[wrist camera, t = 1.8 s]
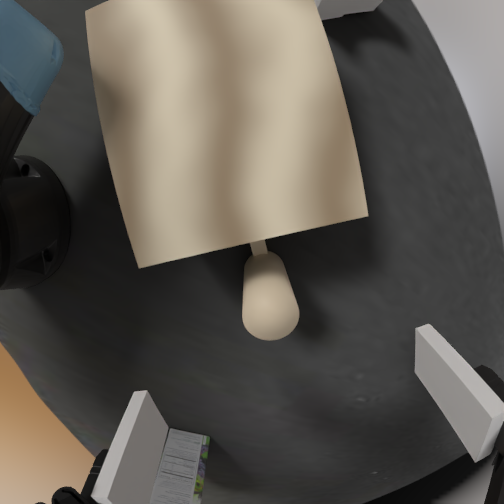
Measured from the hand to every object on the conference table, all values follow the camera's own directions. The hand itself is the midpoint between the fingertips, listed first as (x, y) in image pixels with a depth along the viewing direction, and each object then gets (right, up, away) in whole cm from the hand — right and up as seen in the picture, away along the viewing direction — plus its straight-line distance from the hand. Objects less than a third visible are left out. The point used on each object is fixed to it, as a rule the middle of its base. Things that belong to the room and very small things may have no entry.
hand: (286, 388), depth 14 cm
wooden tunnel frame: (-4, +19, +14) cm, 24 cm away
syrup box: (-11, -21, +25) cm, 34 cm away
